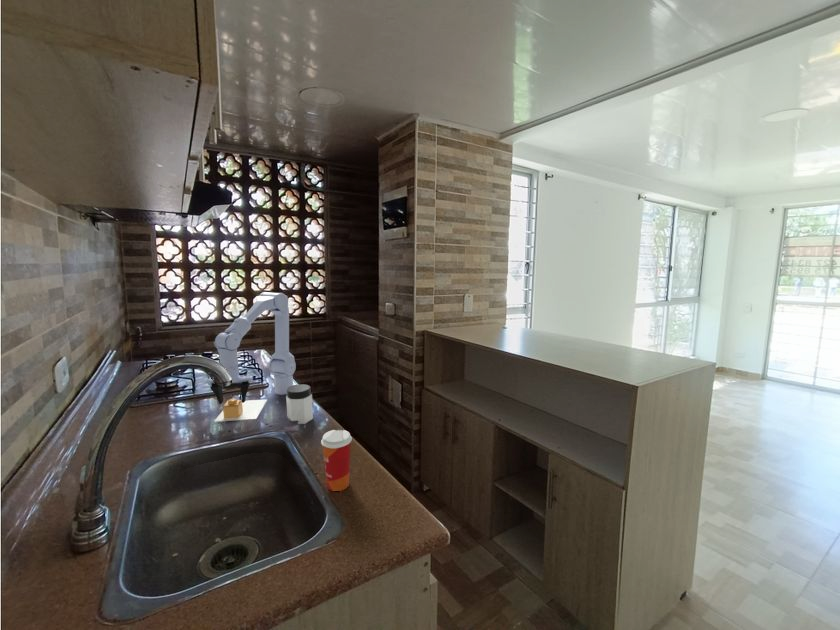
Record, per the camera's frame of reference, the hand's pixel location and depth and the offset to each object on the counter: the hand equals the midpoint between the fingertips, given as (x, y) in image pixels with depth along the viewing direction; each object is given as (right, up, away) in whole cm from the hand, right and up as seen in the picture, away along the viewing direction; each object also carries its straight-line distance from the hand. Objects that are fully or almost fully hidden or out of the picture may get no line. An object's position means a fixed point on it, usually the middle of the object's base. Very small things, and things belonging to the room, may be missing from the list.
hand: (232, 402), depth 136 cm
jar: (+25, -7, 0) cm, 25 cm away
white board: (+1, -5, +5) cm, 8 cm away
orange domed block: (0, -5, +1) cm, 5 cm away
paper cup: (+47, -13, -38) cm, 61 cm away
